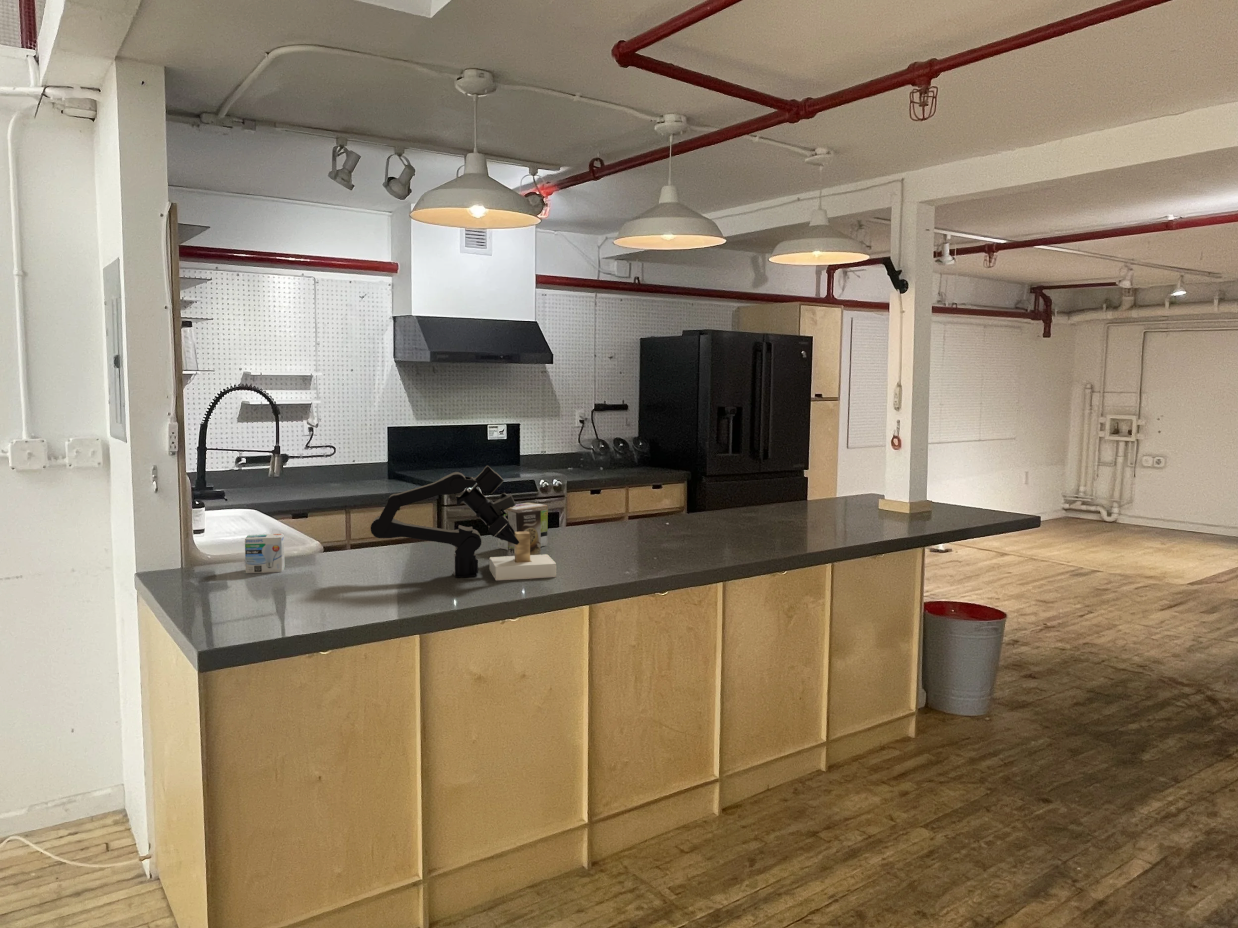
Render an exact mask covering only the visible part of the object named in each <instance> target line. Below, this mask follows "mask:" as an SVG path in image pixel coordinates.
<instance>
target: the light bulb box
mask: <svg viewBox="0 0 1238 928" xmlns="http://www.w3.org/2000/svg"><path fill="white" fill-rule="evenodd" d="M284 538H285V535H284V533H265V534H264V533H263V534H247V536H246V537H245V538H244V559H245V560H244V561H245V564H244V566H245V574H263V573H264V574H265V573H283V571H284V569H285V565H286V563H285V562H286V561H285V539H284Z"/></svg>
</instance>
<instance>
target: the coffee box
mask: <svg viewBox="0 0 1238 928" xmlns="http://www.w3.org/2000/svg"><path fill="white" fill-rule="evenodd" d="M508 521H509V524H510V525H511V527H512V528H513V530H514V531H515V532H524V531H528V532H529V533H530V555H542V554H541V551H542V550H541V511H540V510H535V509H522V510H512V511H508ZM507 556H515V544H513V543H510V542H508V550H507Z"/></svg>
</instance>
